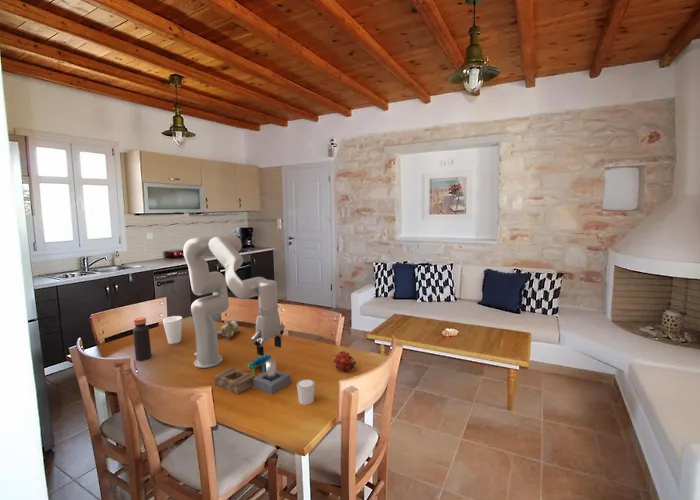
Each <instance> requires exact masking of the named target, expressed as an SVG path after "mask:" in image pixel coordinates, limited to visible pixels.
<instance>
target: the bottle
mask: <svg viewBox="0 0 700 500" xmlns="http://www.w3.org/2000/svg"><path fill="white" fill-rule="evenodd" d="M146 319H147V318H146V317H144V316H143V317H142V316H141V317H135V318H134V319H133V321H134V322H133V324H134V326H135V327H134V328H133V329H132V333H133V334H132V337H133V344H134V353H135V354H134V355H135V360H136V361H138V362H139V361H141V362H142V361H146V360H149V359H150V358H151V357H152V347H151V336H150V335H151V334H150V327H149V326H148V325H147V320H146Z"/></svg>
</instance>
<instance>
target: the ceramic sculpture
mask: <svg viewBox="0 0 700 500" xmlns="http://www.w3.org/2000/svg"><path fill="white" fill-rule="evenodd" d="M239 328H240V327H239V324H238V322H237V320H236V319H233V320H232V321H229V320H228V321H226V323H224V324H223V325H222V326H221V328H220V330H217V338H221V336H223V338H225V337H226V338H227V339H231V338H233V336H234V335H235V333H238V331H239Z"/></svg>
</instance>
